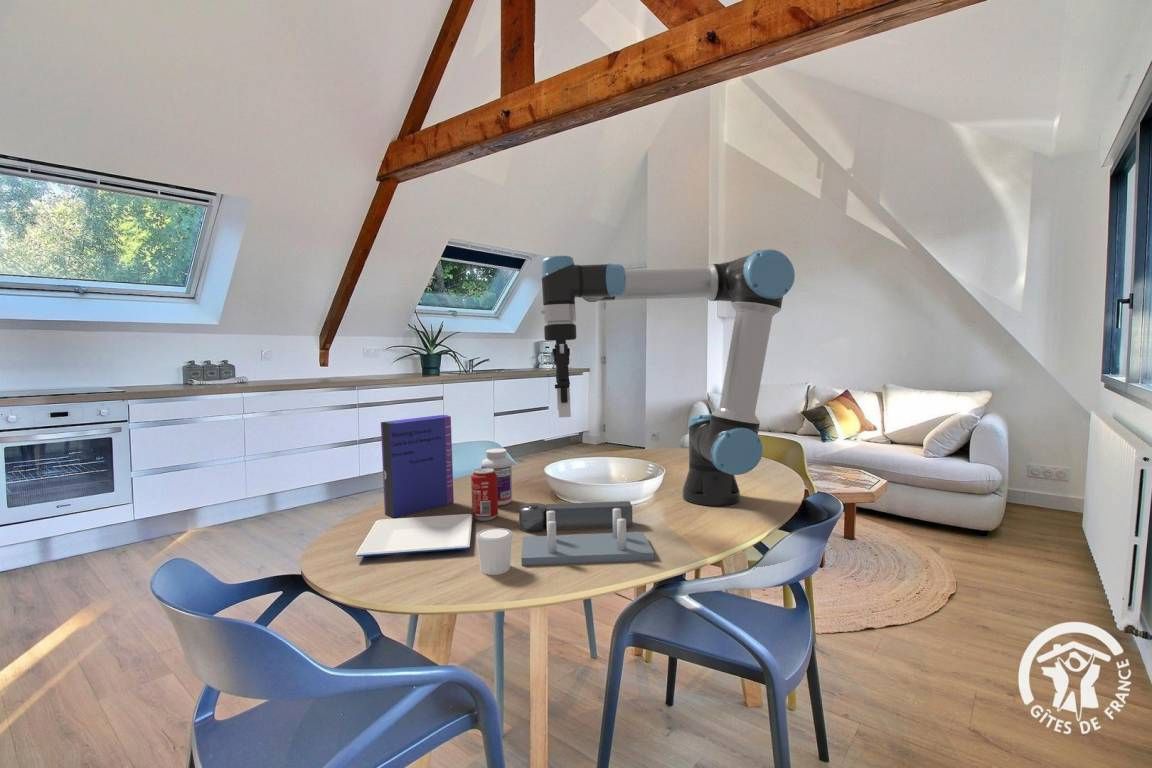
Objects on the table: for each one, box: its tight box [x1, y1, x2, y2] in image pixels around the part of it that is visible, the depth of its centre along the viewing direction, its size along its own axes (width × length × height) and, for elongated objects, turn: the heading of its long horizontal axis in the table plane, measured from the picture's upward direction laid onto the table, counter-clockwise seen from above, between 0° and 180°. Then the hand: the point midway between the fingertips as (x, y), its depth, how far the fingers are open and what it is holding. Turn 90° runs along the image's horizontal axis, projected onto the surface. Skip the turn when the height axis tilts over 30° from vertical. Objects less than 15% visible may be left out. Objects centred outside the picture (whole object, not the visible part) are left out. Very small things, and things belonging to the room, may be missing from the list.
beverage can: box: [470, 467, 499, 522], centre depth 138 cm, size 6×6×12 cm
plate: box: [355, 513, 473, 557], centre depth 124 cm, size 22×22×2 cm
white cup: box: [475, 527, 513, 576], centre depth 107 cm, size 7×7×7 cm
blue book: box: [380, 414, 455, 519], centre depth 147 cm, size 17×5×24 cm, turn 135°
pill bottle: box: [481, 448, 513, 507], centre depth 151 cm, size 8×8×14 cm
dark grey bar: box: [518, 500, 633, 533], centre depth 131 cm, size 26×6×5 cm, turn 94°
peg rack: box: [520, 508, 655, 566], centre depth 115 cm, size 26×12×8 cm, turn 94°
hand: (563, 413), depth 133 cm, fingers open, 13 cm apart
